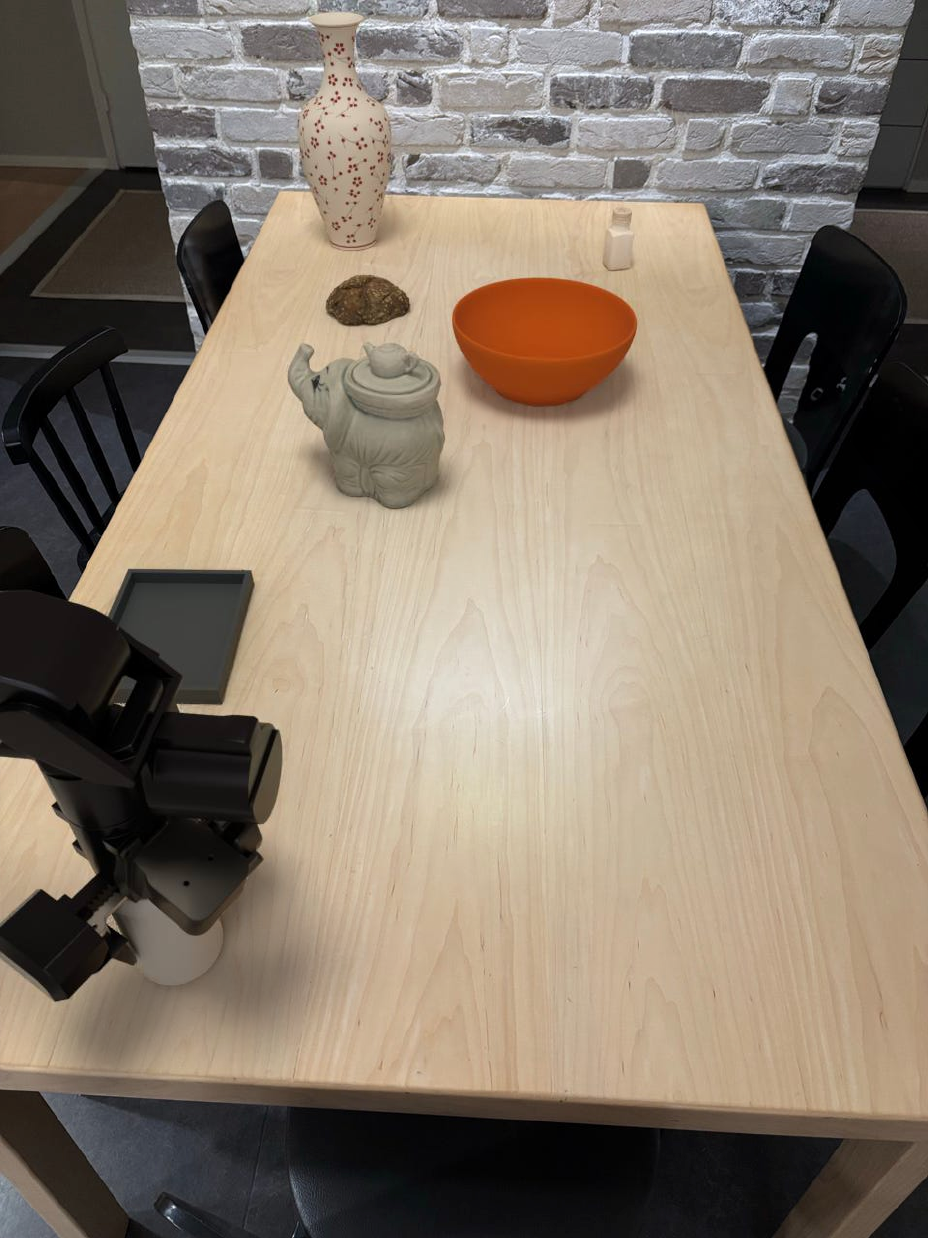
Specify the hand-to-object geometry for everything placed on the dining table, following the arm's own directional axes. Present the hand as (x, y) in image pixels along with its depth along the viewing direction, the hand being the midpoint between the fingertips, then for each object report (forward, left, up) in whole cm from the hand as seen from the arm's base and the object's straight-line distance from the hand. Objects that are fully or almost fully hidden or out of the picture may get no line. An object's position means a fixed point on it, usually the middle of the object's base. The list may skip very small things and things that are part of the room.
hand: (169, 919), depth 65 cm
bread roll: (+55, +94, -5) cm, 109 cm away
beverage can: (0, 0, -5) cm, 5 cm away
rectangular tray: (+8, +33, -5) cm, 34 cm away
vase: (+64, +121, -5) cm, 137 cm away
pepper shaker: (+101, +90, -5) cm, 135 cm away
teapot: (+37, +50, -5) cm, 62 cm away
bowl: (+68, +61, -5) cm, 92 cm away
